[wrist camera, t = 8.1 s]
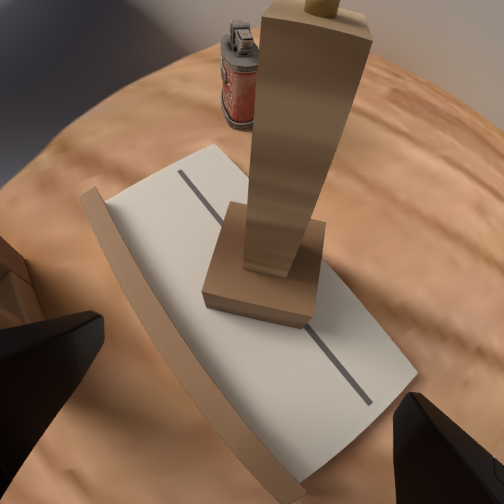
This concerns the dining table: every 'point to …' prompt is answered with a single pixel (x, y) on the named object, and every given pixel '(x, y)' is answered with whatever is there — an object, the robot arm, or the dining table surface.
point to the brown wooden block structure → (16, 290)
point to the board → (245, 329)
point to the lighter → (239, 76)
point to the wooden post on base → (288, 162)
